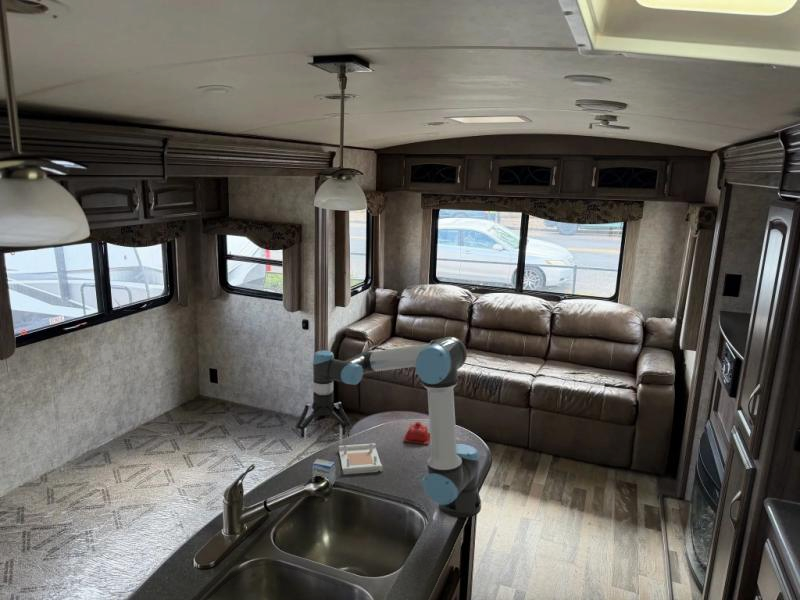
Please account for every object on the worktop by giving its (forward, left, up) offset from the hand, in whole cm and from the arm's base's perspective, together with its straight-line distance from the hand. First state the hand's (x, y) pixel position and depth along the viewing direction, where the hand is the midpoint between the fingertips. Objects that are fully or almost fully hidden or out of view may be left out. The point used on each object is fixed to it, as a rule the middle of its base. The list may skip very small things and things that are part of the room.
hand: (323, 443), depth 213 cm
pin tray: (+15, -16, -17) cm, 27 cm away
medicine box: (0, 0, -17) cm, 17 cm away
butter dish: (+31, -45, -17) cm, 57 cm away
